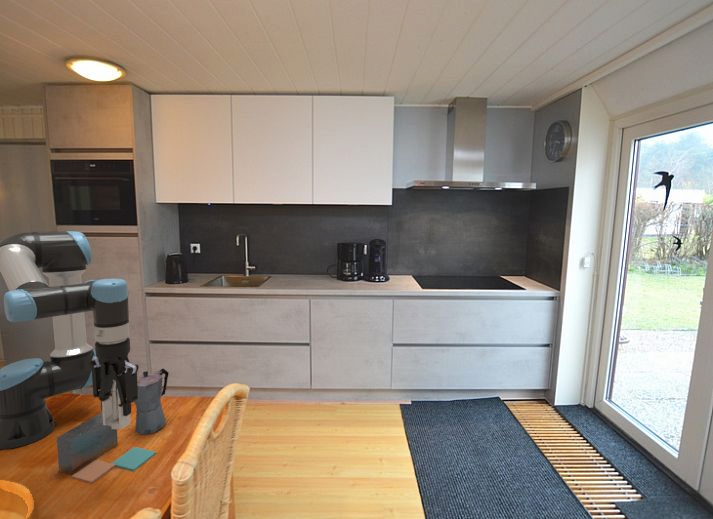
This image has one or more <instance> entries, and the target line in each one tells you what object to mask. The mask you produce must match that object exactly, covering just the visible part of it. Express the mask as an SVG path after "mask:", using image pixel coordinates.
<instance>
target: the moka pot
mask: <svg viewBox="0 0 713 519" xmlns="http://www.w3.org/2000/svg"><path fill="white" fill-rule="evenodd" d="M163 375H164V377H163ZM168 379H169V371H167V370H166V369H164V368H161V369H160V370H157V371H156V372H154V373H152V372H151V373H149V372H148V371H147V370H146V371H143V372H142V374H141V375H137V385H138V399H137V400H136V401H134V402H133V403H134V404H135V408H136V415H135V417H136V418H135V432H136V433H137V434H140V435H150V434H153V433H156V432H158V431H160V430H161V429H162V428H163V427H165V426H166V417H165V414H164V409H163V406H162V405H163V404H162V403H161V402H162V401H161V399H162V396H164V395H165V394H166V390H167V385H168ZM163 380H164V381H163Z"/></svg>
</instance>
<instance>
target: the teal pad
mask: <svg viewBox="0 0 713 519" xmlns="http://www.w3.org/2000/svg"><path fill="white" fill-rule="evenodd" d="M156 454H157V451H154V450H150V449H146V448H141V447H137V446H134V447H132V448H130V449H129V450H128V451H127V452H125V453H124V454H123V455H121V456H120V457H118V458H117V459H115V460H114V461H113V462H111V464H115V467H114V468H120V469H124V470H128V471H131V472H136V470H138V469H139V468H140V467H141V466H143V465H144V464H146V462H148V461H149V460H150V459H152V458H153V457H154V456H155V455H156Z"/></svg>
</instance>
